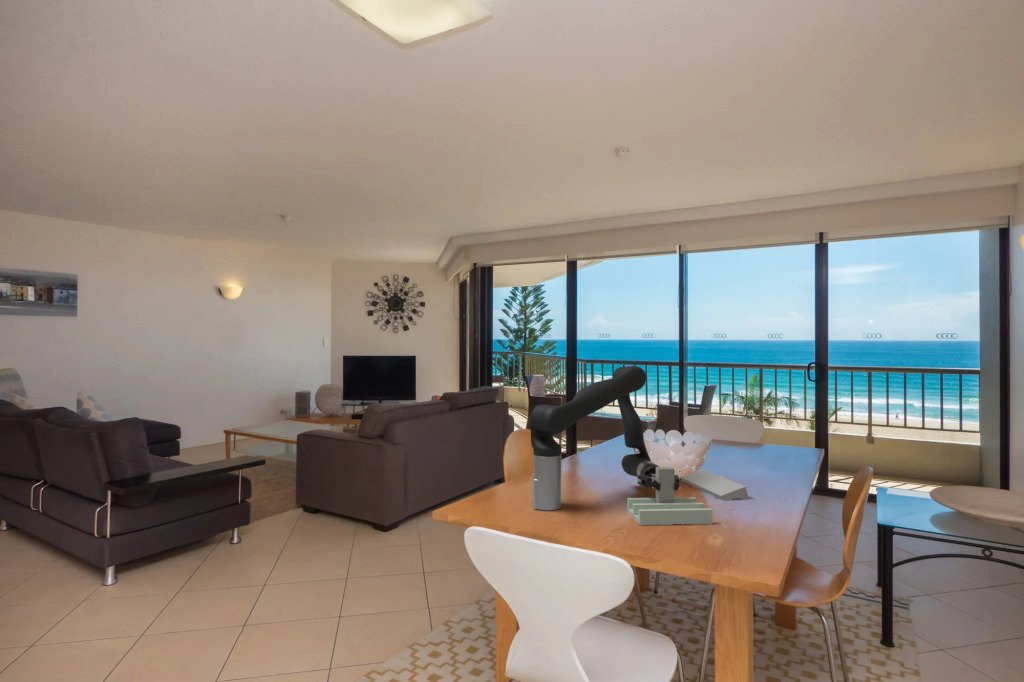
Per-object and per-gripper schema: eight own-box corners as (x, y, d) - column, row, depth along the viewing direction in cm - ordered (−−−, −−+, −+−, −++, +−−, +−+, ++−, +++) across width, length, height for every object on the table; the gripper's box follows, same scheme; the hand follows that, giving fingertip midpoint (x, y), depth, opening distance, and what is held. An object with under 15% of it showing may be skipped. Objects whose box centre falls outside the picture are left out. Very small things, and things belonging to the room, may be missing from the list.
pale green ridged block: (640, 525, 164) (640, 511, 164) (627, 511, 177) (627, 497, 177) (712, 524, 165) (712, 510, 165) (693, 510, 179) (694, 497, 179)
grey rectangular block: (658, 507, 173) (658, 469, 173) (655, 504, 176) (655, 467, 176) (674, 507, 173) (674, 469, 173) (670, 504, 176) (671, 466, 176)
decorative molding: (724, 509, 190) (748, 499, 192) (720, 495, 190) (745, 486, 192) (674, 484, 223) (695, 476, 225) (671, 473, 223) (692, 465, 225)
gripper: (629, 463, 188) (645, 475, 171) (671, 462, 189) (690, 474, 172) (629, 485, 188) (645, 499, 171) (671, 484, 189) (690, 499, 172)
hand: (667, 487), depth 172 cm, fingers closed on grey rectangular block, 4 cm apart
